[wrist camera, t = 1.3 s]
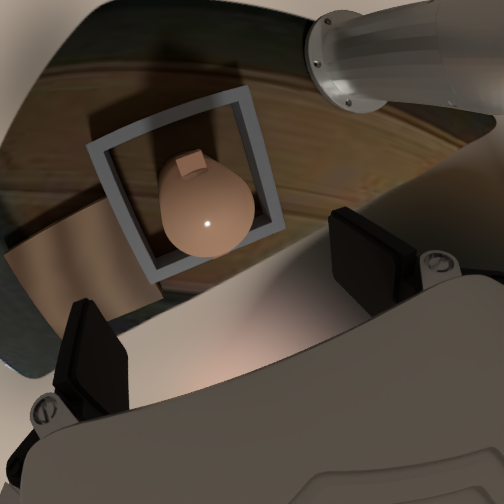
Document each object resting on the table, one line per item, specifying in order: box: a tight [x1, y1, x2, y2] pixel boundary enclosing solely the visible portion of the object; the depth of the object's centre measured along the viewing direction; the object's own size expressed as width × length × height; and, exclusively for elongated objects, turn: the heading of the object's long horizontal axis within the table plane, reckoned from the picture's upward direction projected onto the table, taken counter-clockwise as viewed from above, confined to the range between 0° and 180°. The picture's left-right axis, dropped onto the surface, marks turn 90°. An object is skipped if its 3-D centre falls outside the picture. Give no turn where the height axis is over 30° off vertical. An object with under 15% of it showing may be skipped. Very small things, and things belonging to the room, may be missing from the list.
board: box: [4, 195, 164, 339], centre depth 26 cm, size 14×12×1 cm
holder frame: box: [86, 85, 286, 284], centre depth 26 cm, size 14×14×2 cm
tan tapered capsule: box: [158, 149, 255, 259], centre depth 23 cm, size 6×9×10 cm, turn 16°
